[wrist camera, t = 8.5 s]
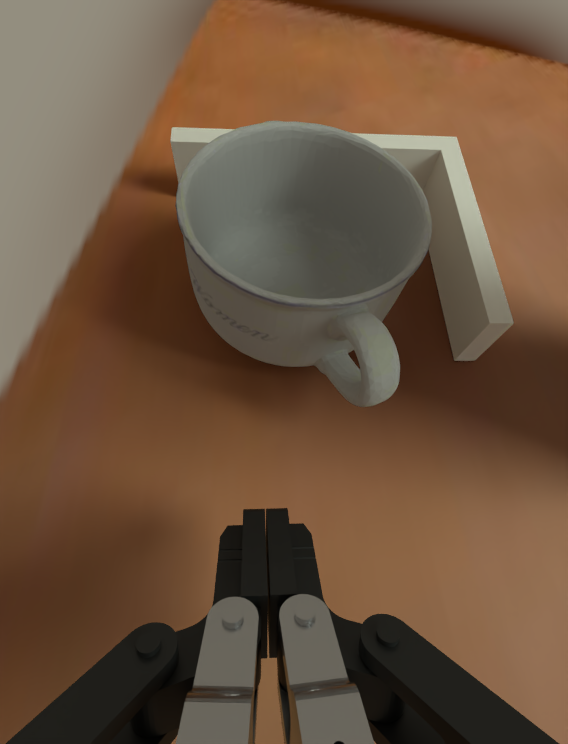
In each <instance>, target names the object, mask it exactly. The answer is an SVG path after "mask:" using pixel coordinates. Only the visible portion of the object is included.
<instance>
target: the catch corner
mask: <svg viewBox="0 0 568 744" xmlns="http://www.w3.org/2000/svg"><path fill="white" fill-rule="evenodd" d="M233 130H235V129H207V128H177V127H172V133H171V146H172V152H173V157H174V162H175V167H176V172H177V177H178V182H179V181H180V178H181V176H182V173H183V171H184V169H185V168H186V166H187V165H188V163H189V162H190V160H191V159H192V158H193V157H194V156H195V155H196V153H197V152H198V151H199V150H201V149H202V148H203V147H204V146H205V145H207V144H208V143H210V142H211V141H212V140H214V139H215V138H217V137H219V136H220V135H223V134H225V133H228V132H231V131H233ZM352 134H355V133H352ZM355 135H357V136H359V137H362V138H364V139H366V140H368V141H370V142H371V143H373V144H375V145H377V146H379V147H380V148H382V149H383V150H385V151H386V152H387V153H389V154H390V155H391V156H393V157H394V158H395V159H396V160H398V161H399V162H400V163H401V164H402V165H403V166H404V167H405V168H406V169H407V170H408V171H409V172H410V173H411V174H412V176H413V177H414V178H415V180H416V181H417V183H418V184H419V186H420V187H421V189H422V190H423V193H424V195H425V197H426V199H427V201H428V206H429V210H430V214H431V220H432V235H431V241H430V245H429V248H428V249H429V253H430V258H431V262H432V267H433V271H434V275H435V280H436V284H437V288H438V293H439V297H440V301H441V306H442V310H443V314H444V319H445V323H446V327H447V332H448V336H449V340H450V345H451V349H452V353H453V358H454V361H475V360H476V359H477V358H478V357H479V356H480V355H481V354H482V353H484V352H485V351H486V350H487V349H488V348H489V347H490V346H491V345H492V344H493V343H494V342H495V341H496V340H497V339H498V338H499V337H500V336H501V335H502V334H503V333H504V332H505V331H506V330H508V329H509V328H510V327H511V326H512V325H513V324H514V322H513V318H512V315H511V312H510V309H509V305H508V302H507V299H506V296H505V293H504V289H503V286H502V283H501V280H500V276H499V273H498V270H497V267H496V263H495V260H494V257H493V254H492V250H491V247H490V244H489V241H488V237H487V234H486V231H485V228H484V225H483V221H482V218H481V215H480V212H479V208H478V205H477V202H476V199H475V195H474V192H473V189H472V186H471V182H470V179H469V176H468V173H467V169H466V166H465V163H464V160H463V156H462V153H461V150H460V147H459V144H458V140H457V137H444V136H414V135H384V134H355Z"/></svg>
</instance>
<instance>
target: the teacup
mask: <svg viewBox="0 0 568 744" xmlns="http://www.w3.org/2000/svg"><path fill="white" fill-rule="evenodd" d="M176 210H177V218H178V222H179V226H180V230H181V232H182V234H183V237H184V245H185V252H186V257H187V263H188V269H189V274H190V278H191V282H192V286H193V290H194V293H195V296H196V299H197V302H198V304H199V307H200V309H201V311H202V313H203V314H204V316H205V318H206V319H207V321H208V323H209V324H210V325H211V326H212V328H213V329H214V330H215V331H216V332H217V333H218V334H219V336H220V337H221V338H223V339H224V340H225V341H226V342H227V343H228V344H230V345H231V346H232V347H234V348H235V349H237V350H238V351H240V352H242V353H244V354H246V355H248V356H250V357H252V358H254V359H256V360H259V361H262V362H265V363H269V364H274V365H279V366H289V367H306V366H313V365H314V366H316V367H317V368H318V369H319V371H320V372H322V373H323V374H325V375H326V376H327V377H328V378H329V380H330V381H331V383H332V384H333V385H334V386H335V387H336V389H337V390H338V391H339V392H340V393H341V394H342V396H343V397H344V398H345V399H346V400H348V401H349V402H350V403H352V404H354V405H355V406H359V407H369V406H373V405H376V404H378V403H381V402H383V401H385V400H387V399H388V398H390V397H391V396H392V395H393V393H394V392H395V390H396V389H397V386H398V384H399V377H400V362H399V356H398V352H397V348H396V345H395V343H394V340H393V338H392V336H391V335H390V333H389V331H388V329H387V328H386V326H385V325H384V324H383V323H382V321H383V320H384V318H385V317H386V315H387V314H388V312H389V311H390V309H391V308H392V306H393V305H394V303H395V301H396V300H397V298H398V296H399V295H400V293H401V291H402V289H403V288H404V286H405V284H406V283H407V281H408V279H409V278H410V277H411V276H412V275H413V274H414V273H415V271H416V270H417V269H418V268H419V266H420V265H421V263H422V261H423V259H424V257H425V256H426V254H427V252H428V248H429V245H430V241H431V235H432V220H431V214H430V210H429V206H428V201H427V199H426V197H425V195H424V193H423V190H422V189H421V187H420V186H419V184H418V183H417V181H416V180H415V178H414V177H413V176H412V174H411V173H410V172H409V171H408V170H407V169H406V168H405V167H404V166H403V165H402V164H401V163H400V162H399V161H398V160H396V159H395V158H394V157H393V156H391V155H390V154H389V153H387V152H386V151H385V150H383V149H382V148H380V147H379V146H377V145H375V144H373V143H371V142H370V141H368V140H366V139H364V138H362V137H359V136H357V135H355V134H352V133H350V132H347V131H344V130H340V129H337V128H334V127H329V126H325V125H320V124H313V123H303V122H282V121H266V122H265V123H260V124H255V125H250V126H246V127H240V128H237V129H235V130H233V131H231V132H228V133H225V134H223V135H220V136H219V137H217V138H215V139H214V140H212V141H211V142H210V143H208V144H207V145H205V146H204V147H203V148H202V149H201V150H199V151H198V152H197V153H196V155H195V156H194V157H193V158H192V159H191V160H190V162H189V163H188V165H187V166H186V168H185V169H184V171H183V173H182V176H181V178H180V181H179V184H178V190H177V194H176ZM353 350H354V351H355V353H356V356H357V358H358V362H359V365H360V369H359V368H358V367H357V365H356V364H355V363H354V362H353V360H352V359H351V358H350V356H349V355H348V353H349V352H351V351H353Z"/></svg>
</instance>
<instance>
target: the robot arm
mask: <svg viewBox="0 0 568 744" xmlns="http://www.w3.org/2000/svg"><path fill="white" fill-rule="evenodd" d="M267 626H268V632H269V658H277V667H278V684H277V685H278V696H279V704H280V712H281V720H282V728H283V736H284V744H374V741H375V742H376V743H377V744H559V743H557V742H556V741H555V740H554V739H552V738H551V737H550V736H548V735H547V734H546V733H545V732H543V731H542V730H541V729H540V728H538V727H537V726H536V725H534V724H533V723H532V722H531V721H529V720H528V719H527V718H525V717H524V716H523V715H522V714H520V713H519V712H518V711H516V710H515V709H514V708H513V707H511V706H510V705H509V704H508V703H506V702H505V701H504V700H502V699H501V698H500V697H499V696H497V695H496V694H495V693H493V692H492V691H491V690H490V689H488V688H487V687H486V686H484V685H483V684H482V683H481V682H479V681H478V680H477V679H476V678H474V677H473V676H472V675H470V674H469V673H468V672H467V671H465V670H464V669H463V668H461V667H460V666H459V665H458V664H456V663H455V662H454V661H452V660H451V659H450V658H449V657H447V656H446V655H445V654H444V653H442V652H441V651H440V650H438V649H437V648H436V647H435V646H433V645H432V644H431V643H429V642H428V641H427V640H426V639H424V638H423V637H422V636H420V635H419V634H418V633H417V632H415V631H414V630H413V629H412V628H410V627H409V626H408V625H406V624H405V623H404V622H403V621H401V620H400V619H398V618H396V617H394V616H391V615H387V614H376V615H372V616H370V617H369V618H367V619H366V620H365V621H364V622H363V624H360V623H357V622H353V621H349V620H346V619H343V618H341V617H339V616H337V615H336V614H334V613H333V612H332V611H331V610H330V609H329V608H328V607H327V605H326V604H325V601H324V599H323V595H322V590H321V584H320V579H319V573H318V568H317V563H316V559H315V552H314V546H313V541H312V535H311V533H310V532H309V530H308V529H307V528H306V527H305V525H304V524H289V517H288V509H287V508H278V509H266V533H265V509H244V510H243V525H233V526H227V527H226V529H225V530H224V532H223V533H222V535H221V536H220V544H219V554H218V563H217V573H216V582H215V592H214V601H213V605H212V608H211V609H210V611H209V613H208V614H207V616H206V617H205V618H204V619H203V620H201V621H200V622H199V623H197V624H195V625H193V626H191V627H189V628H186V629H183V630H180V631H177V632H175V631H174V630H173V629H172V628H171V627H170V626H168V625H166V624H164V623H148V624H145V625H142V626H140V627H138V628H137V629H135V630H134V631H132V632H131V633H130V634H129V635H128V636H127V637H126V638H124V639H123V640H122V641H121V642H120V643H119V644H118V645H117V646H115V647H114V648H113V649H112V650H111V651H110V652H109V653H107V654H106V655H105V656H104V657H103V658H102V659H101V660H100V661H98V662H97V663H96V664H95V665H94V666H93V667H92V668H91V669H89V670H88V671H87V672H86V673H85V674H84V675H83V676H82V677H80V678H79V679H78V680H77V681H76V682H75V683H74V684H72V685H71V686H70V687H69V688H68V689H67V690H66V691H65V692H63V693H62V694H61V695H60V696H59V697H58V698H57V699H56V700H54V701H53V702H52V703H51V704H50V705H49V706H48V707H47V708H45V709H44V710H43V711H42V712H41V713H40V714H39V715H37V716H36V717H35V718H34V719H33V720H32V721H31V722H30V723H28V724H27V725H26V726H25V727H24V728H23V729H22V730H21V731H19V732H18V733H17V734H16V735H15V736H14V737H13V738H12V739H10V740H9V741H8V742H7V743H6V744H171V743H172V741H173V740H174V739H175V738H176V736H177V735H178V736H177V741H176V744H255V736H256V720H257V703H258V685H259V683H260V679H261V658H267ZM373 740H374V741H373Z"/></svg>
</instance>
